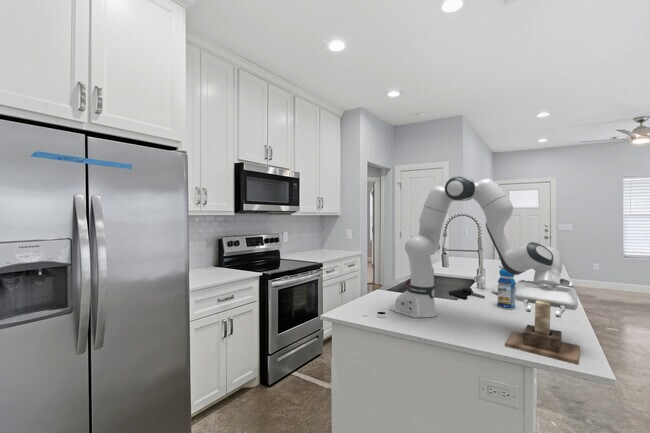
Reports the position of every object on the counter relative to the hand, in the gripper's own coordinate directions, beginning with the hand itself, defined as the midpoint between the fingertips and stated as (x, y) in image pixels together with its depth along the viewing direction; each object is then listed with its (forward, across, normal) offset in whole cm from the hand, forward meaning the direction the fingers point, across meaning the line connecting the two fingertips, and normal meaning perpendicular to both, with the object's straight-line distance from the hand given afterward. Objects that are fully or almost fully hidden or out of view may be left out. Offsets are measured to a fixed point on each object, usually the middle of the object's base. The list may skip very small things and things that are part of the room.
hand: (542, 313), depth 122 cm
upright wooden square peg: (+7, 0, +8) cm, 10 cm away
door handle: (-31, -43, +51) cm, 74 cm away
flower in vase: (-46, -28, +64) cm, 84 cm away
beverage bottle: (-24, -21, +43) cm, 54 cm away
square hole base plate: (+9, 0, +10) cm, 13 cm away
